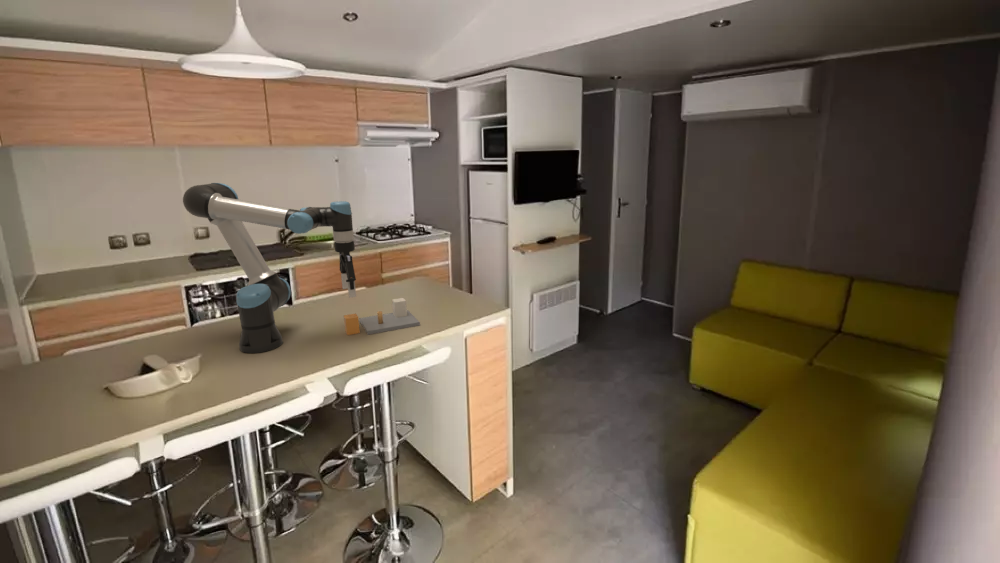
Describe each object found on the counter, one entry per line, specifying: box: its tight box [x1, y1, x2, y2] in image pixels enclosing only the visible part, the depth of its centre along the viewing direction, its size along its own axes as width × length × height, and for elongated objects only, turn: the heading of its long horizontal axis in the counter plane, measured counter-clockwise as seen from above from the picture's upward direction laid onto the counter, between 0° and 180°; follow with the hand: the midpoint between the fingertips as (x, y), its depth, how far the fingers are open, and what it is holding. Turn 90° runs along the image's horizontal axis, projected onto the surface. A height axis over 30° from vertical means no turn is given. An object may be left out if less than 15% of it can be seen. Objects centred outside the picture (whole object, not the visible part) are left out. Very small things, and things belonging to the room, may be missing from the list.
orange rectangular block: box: [343, 313, 361, 336], centre depth 199 cm, size 5×5×7 cm
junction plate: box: [358, 297, 421, 335], centre depth 208 cm, size 22×18×8 cm
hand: (349, 292), depth 197 cm, fingers open, 13 cm apart
